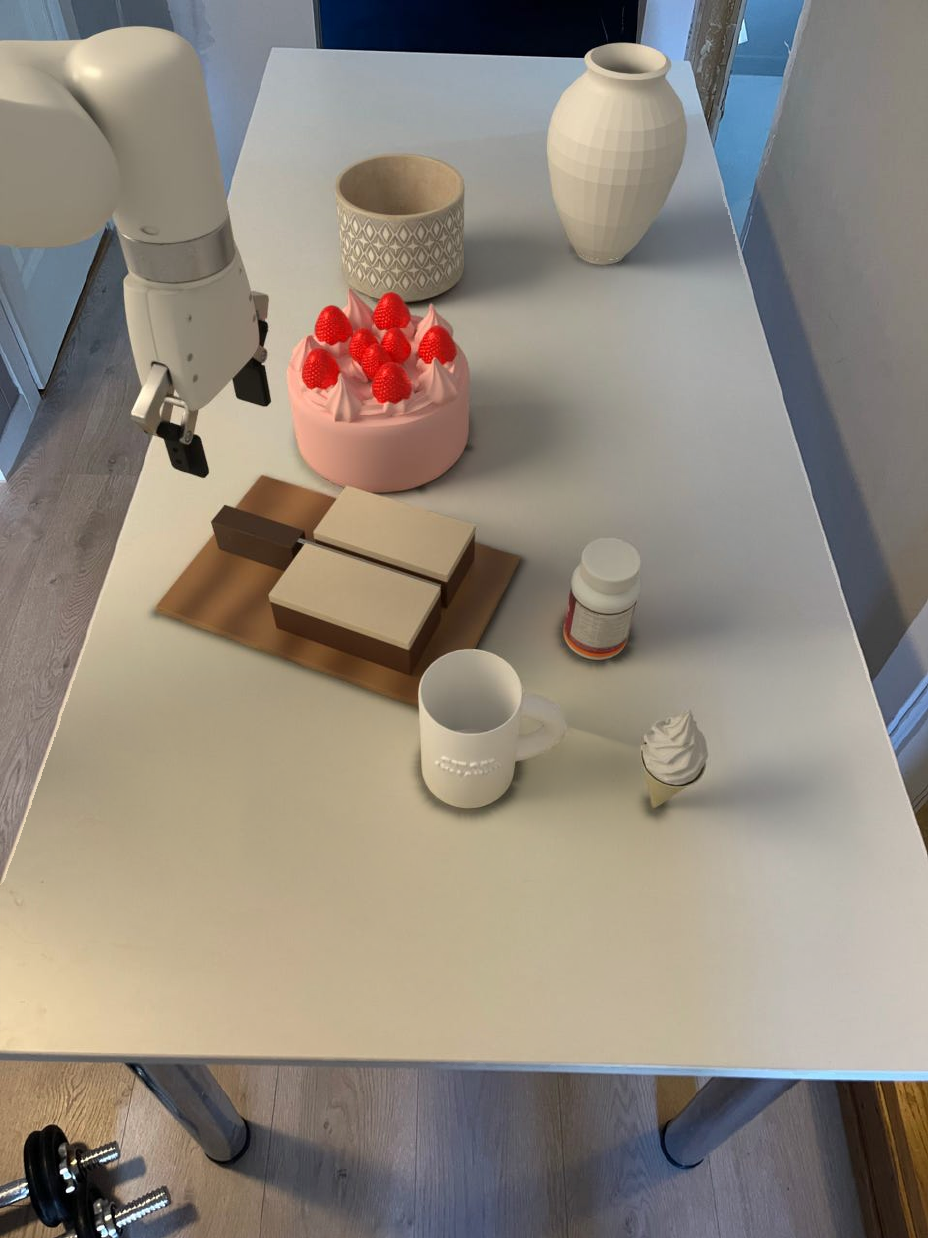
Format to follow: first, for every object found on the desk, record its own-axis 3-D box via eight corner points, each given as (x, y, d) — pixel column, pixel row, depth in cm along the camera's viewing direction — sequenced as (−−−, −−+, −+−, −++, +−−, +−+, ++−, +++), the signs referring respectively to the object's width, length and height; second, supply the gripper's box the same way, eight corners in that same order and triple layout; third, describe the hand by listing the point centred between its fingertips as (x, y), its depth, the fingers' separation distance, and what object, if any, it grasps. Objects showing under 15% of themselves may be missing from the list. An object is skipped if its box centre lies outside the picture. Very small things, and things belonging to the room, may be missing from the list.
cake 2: (318, 566, 91) (313, 531, 87) (350, 519, 95) (346, 484, 91) (447, 609, 88) (447, 575, 84) (474, 559, 92) (475, 525, 88)
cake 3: (276, 628, 86) (267, 594, 82) (311, 576, 90) (305, 542, 86) (410, 676, 83) (408, 643, 79) (441, 620, 87) (440, 587, 83)
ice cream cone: (621, 777, 78) (652, 679, 66) (681, 779, 78) (722, 681, 66) (626, 832, 75) (659, 739, 63) (688, 834, 75) (732, 742, 63)
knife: (218, 549, 92) (210, 521, 89) (232, 531, 94) (224, 504, 90) (435, 622, 87) (434, 596, 83) (446, 603, 88) (446, 576, 85)
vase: (682, 277, 125) (726, 81, 106) (560, 293, 123) (582, 95, 103) (636, 212, 136) (668, 23, 116) (523, 226, 133) (536, 35, 113)
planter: (439, 320, 118) (438, 227, 108) (324, 295, 122) (313, 203, 112) (478, 255, 128) (481, 165, 118) (371, 234, 131) (364, 144, 121)
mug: (566, 805, 76) (583, 731, 67) (424, 815, 75) (421, 742, 66) (552, 721, 81) (566, 642, 72) (419, 730, 80) (415, 651, 71)
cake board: (158, 612, 88) (155, 606, 87) (263, 481, 100) (261, 474, 99) (441, 716, 81) (440, 710, 81) (519, 562, 93) (519, 555, 92)
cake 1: (370, 361, 113) (361, 255, 102) (504, 424, 106) (510, 317, 95) (261, 447, 103) (238, 340, 92) (401, 523, 96) (394, 417, 85)
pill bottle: (577, 602, 90) (591, 523, 81) (635, 625, 88) (657, 546, 79) (552, 647, 86) (564, 569, 77) (613, 672, 85) (632, 595, 76)
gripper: (200, 174, 68) (239, 365, 82) (52, 292, 58) (123, 488, 72) (288, 196, 67) (313, 387, 80) (151, 321, 57) (205, 515, 70)
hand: (223, 434), depth 76 cm, fingers open, 9 cm apart
